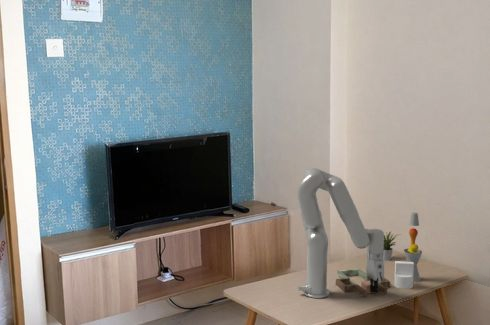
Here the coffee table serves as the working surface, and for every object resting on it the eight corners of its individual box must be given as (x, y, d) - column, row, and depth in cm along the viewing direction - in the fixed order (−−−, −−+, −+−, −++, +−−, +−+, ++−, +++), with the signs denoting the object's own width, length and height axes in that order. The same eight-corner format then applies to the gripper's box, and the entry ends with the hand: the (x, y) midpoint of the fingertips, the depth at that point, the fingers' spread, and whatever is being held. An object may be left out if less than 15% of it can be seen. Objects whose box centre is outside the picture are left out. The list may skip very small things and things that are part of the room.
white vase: (395, 288, 283) (396, 265, 281) (393, 281, 292) (394, 259, 290) (414, 289, 282) (415, 265, 280) (411, 282, 291) (412, 260, 289)
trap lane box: (351, 298, 271) (352, 292, 270) (326, 277, 298) (326, 271, 298) (397, 292, 277) (398, 286, 277) (369, 273, 305) (369, 267, 304)
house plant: (396, 254, 336) (397, 227, 333) (404, 262, 322) (405, 234, 320) (372, 255, 335) (373, 228, 333) (379, 262, 321) (380, 234, 319)
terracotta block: (366, 293, 277) (366, 285, 276) (360, 289, 282) (361, 281, 282) (377, 292, 278) (377, 284, 277) (372, 288, 284) (372, 280, 283)
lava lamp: (399, 276, 299) (401, 211, 294) (414, 275, 301) (417, 210, 296) (408, 282, 290) (411, 215, 285) (424, 281, 293) (427, 214, 288)
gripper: (390, 259, 266) (388, 297, 269) (374, 250, 280) (373, 286, 283) (375, 260, 264) (374, 298, 267) (360, 251, 278) (359, 287, 281)
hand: (373, 292), depth 275 cm, fingers closed
